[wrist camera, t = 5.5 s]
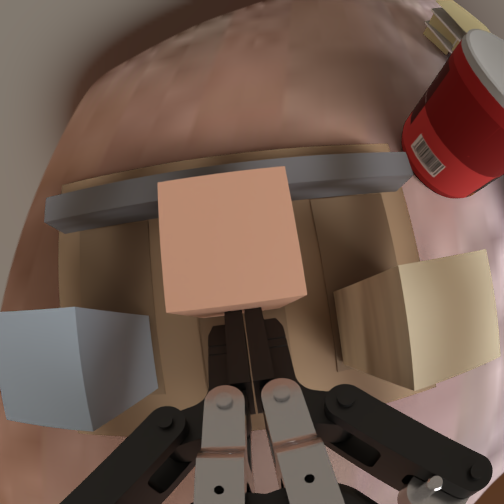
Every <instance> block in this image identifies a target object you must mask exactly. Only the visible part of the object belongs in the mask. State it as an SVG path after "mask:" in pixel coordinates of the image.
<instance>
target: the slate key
mask: <svg viewBox="0 0 504 504" xmlns="http://www.w3.org/2000/svg"><path fill="white" fill-rule="evenodd" d="M0 389H1V395H2V400H3V405H4V410H5V414H6V419H7V420H11V421H16V422H22V423H27V424H33V425H40V426H47V427H54V428H62V429H71V430H81V431H95V430H97V429H98V428H100V427H101V426H103V425H104V424H106V423H107V422H109V421H110V420H112V419H113V418H115V417H117V416H118V415H120V414H121V413H123V412H124V411H126V410H127V409H129V408H130V407H132V406H133V405H135V404H136V403H137V402H139V401H140V400H142V399H143V398H145V397H146V396H148V395H149V394H151V393H152V392H154V391H155V390H156V389H158V383H157V377H156V370H155V363H154V356H153V348H152V341H151V332H150V324H149V316H146V315H137V314H128V313H119V312H111V311H103V310H95V309H88V308H81V307H66V308H53V309H40V310H25V311H10V312H0Z"/></svg>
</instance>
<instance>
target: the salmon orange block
mask: <svg viewBox="0 0 504 504" xmlns="http://www.w3.org/2000/svg"><path fill="white" fill-rule="evenodd" d="M158 212H159V232H160V248H161V262H162V274H163V286H164V296H165V306H166V313H171V314H178V315H185V316H192V317H200V318H208V317H217V316H224V312H228V311H236V310H242V313H244V309H252V308H259V307H261V308H262V311H264V310H271V309H278V308H281V307H283V306H285V305H288V304H290V303H292V302H294V301H296V300H298V299H300V298H302V297H304V296H306V295H307V289H306V283H305V276H304V270H303V264H302V258H301V252H300V246H299V240H298V234H297V229H296V223H295V218H294V212H293V207H292V201H291V196H290V191H289V185H288V180H287V175H286V170H285V166H280V167H270V168H260V169H251V170H242V171H234V172H226V173H218V174H211V175H204V176H197V177H190V178H183V179H177V180H170V181H164V182H158Z"/></svg>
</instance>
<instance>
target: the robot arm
mask: <svg viewBox="0 0 504 504" xmlns="http://www.w3.org/2000/svg"><path fill="white" fill-rule="evenodd" d="M244 315H245V323H246V331H247V339H248V346H249V354H250V362H251V370H252V377H253V384H254V391H255V397H256V404H257V410H258V414H259V413H263V415H264V422H265V429H266V434H267V438H268V442H269V446H270V450H271V455H272V459H273V463H274V466H275V471H276V475H277V480H278V485H279V490H276V491H274V492H271V493H268V494H259V493H255V487H254V478H253V459H252V432H251V431H252V422H251V415H253V414H256V411H255V403H254V396H253V388H252V380H251V373H250V365H249V357H248V349H247V342H246V334H245V328H244V321H243V314H242V310H236V311H228V312H224V318H225V325H217V326H213V327H212V329H211V331H210V333H209V335H208V375H209V389H208V393H207V395H206V396H205V398H204V399H203V400H202V401H201V402H200V403H198V404H196V405H194V406H192V407H189V408H186V409H184V410H181V411H180V410H179V409H177V408H175V407H172V406H162V407H159V408H157V409H155V410H154V411H153V412H151V414H150V415H149V416H148V417H147V418H146V419H145V420H144V421H143V422H142V423H141V424H140V425H139V426H138V427H137V428H136V429H135V430H134V431H133V432H132V433H131V434H130V435H129V436H128V437H127V438H126V439H125V440H124V441H123V442H122V443H121V444H120V445H119V446H118V447H117V448H116V449H115V450H114V451H113V452H112V453H111V454H110V455H109V456H108V457H107V458H106V459H105V460H104V461H103V462H102V463H101V464H100V465H99V466H98V467H97V468H96V469H95V470H94V471H93V472H92V473H91V474H90V475H89V476H88V477H87V478H86V479H85V480H84V481H83V482H82V483H81V484H80V485H79V486H78V487H77V488H76V489H75V490H73V491H72V492H71V493H70V494H69V495H68V496H67V497H66V498H65V499H64V500H63V501H62V502H61V503H60V504H162V502H163V501H164V500H165V499H166V498H167V497H168V496H169V495H170V494H171V493H172V491H173V490H174V489H175V488H176V487H177V486H178V485H179V484H180V482H181V481H182V480H183V479H184V478H185V477H186V476H187V474H188V473H189V472H190V471H191V470H192V469H193V467H194V466H195V465H196V467H195V485H194V502H193V503H191V504H378V503H376V502H375V501H373V500H372V499H370V498H369V497H367V496H366V495H364V494H363V493H361V492H360V491H358V490H356V489H354V488H352V487H350V486H347V485H344V484H339V483H338V482H337V480H336V477H335V474H334V471H333V468H332V465H331V462H330V460H329V457H328V454H327V451H326V448H325V445H326V446H327V447H329V448H330V449H332V450H333V451H335V452H336V453H338V454H339V455H341V456H342V457H344V458H345V459H347V460H348V461H350V462H351V463H353V464H355V465H356V466H358V467H359V468H361V469H363V470H364V471H366V472H367V473H369V474H371V475H372V476H374V477H376V478H377V479H379V480H381V481H382V482H384V483H386V484H387V485H389V486H391V487H393V488H394V489H396V490H398V491H399V494H398V499H397V501H398V504H465V503H466V502H467V500H468V498H469V497H470V496H471V495H473V494H475V493H476V492H478V491H480V490H481V489H483V488H484V487H485V486H486V485H487V484H488V483H489V481H490V480H491V477H492V465H491V463H490V461H489V460H488V458H486V457H485V456H483V455H481V454H479V453H477V452H475V451H473V450H471V449H469V448H467V447H465V446H463V445H461V444H459V443H457V442H455V441H453V440H451V439H449V438H448V437H446V436H444V435H442V434H440V433H438V432H436V431H434V430H432V429H430V428H429V427H427V426H425V425H423V424H421V423H419V422H418V421H416V420H414V419H412V418H410V417H408V416H407V415H405V414H403V413H401V412H399V411H398V410H396V409H394V408H392V407H391V406H389V405H387V404H385V403H384V402H382V401H380V400H378V399H377V398H375V397H373V396H371V395H370V394H368V393H366V392H365V391H363V390H361V389H359V388H358V387H356V386H354V385H350V384H340V385H337V386H335V387H333V388H332V389H330V390H329V391H319V390H312V389H309V388H306V387H304V386H303V385H302V384H300V383H299V381H298V380H297V378H296V376H295V372H294V368H293V364H292V360H291V356H290V352H289V348H288V344H287V339H286V335H285V331H284V327H283V325H282V324H281V323H280V322H279V321H278V320H277V319H276V318H271V319H264V318H263V313H262V308H261V307H259V308H252V309H244Z"/></svg>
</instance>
